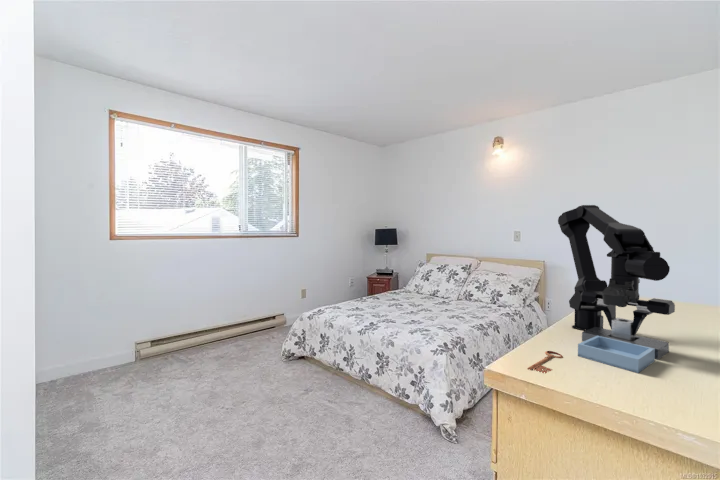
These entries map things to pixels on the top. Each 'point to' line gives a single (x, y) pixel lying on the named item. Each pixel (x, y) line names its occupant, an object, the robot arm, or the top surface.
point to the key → (544, 362)
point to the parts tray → (617, 353)
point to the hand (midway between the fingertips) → (623, 333)
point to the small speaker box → (622, 329)
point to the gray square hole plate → (658, 345)
